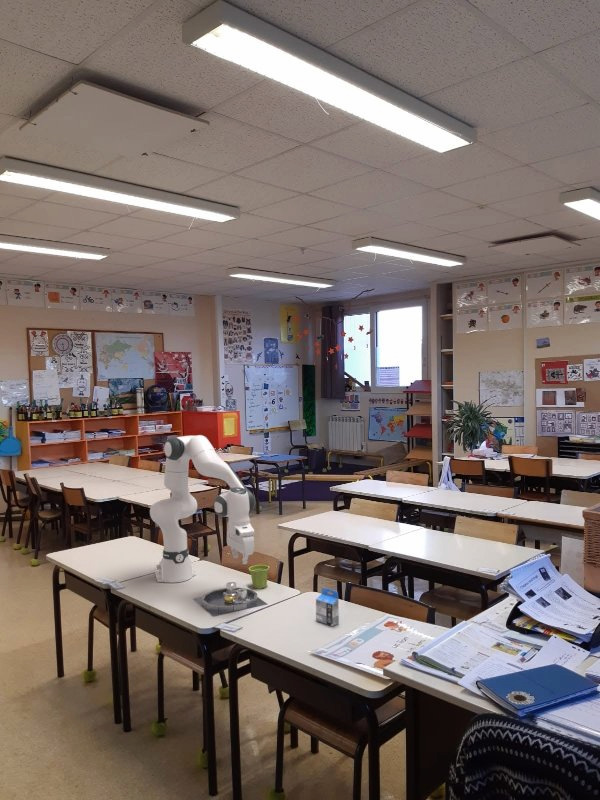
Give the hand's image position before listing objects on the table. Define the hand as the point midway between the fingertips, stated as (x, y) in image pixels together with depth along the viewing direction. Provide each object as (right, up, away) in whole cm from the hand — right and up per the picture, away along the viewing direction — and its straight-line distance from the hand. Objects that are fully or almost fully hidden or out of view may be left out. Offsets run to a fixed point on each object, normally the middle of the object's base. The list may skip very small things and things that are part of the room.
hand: (240, 560), depth 247 cm
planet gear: (+1, -18, 0) cm, 18 cm away
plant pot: (+6, -19, +25) cm, 32 cm away
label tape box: (+35, -19, -19) cm, 44 cm away
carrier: (-5, -19, +4) cm, 20 cm away
